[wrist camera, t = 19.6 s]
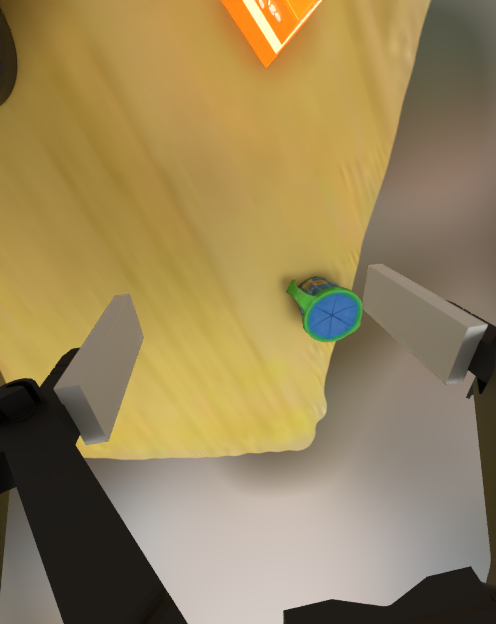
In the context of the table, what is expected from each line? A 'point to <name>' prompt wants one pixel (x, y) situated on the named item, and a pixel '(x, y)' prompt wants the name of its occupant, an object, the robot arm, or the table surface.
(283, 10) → the orange juice
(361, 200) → the table surface
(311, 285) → the snack cup
